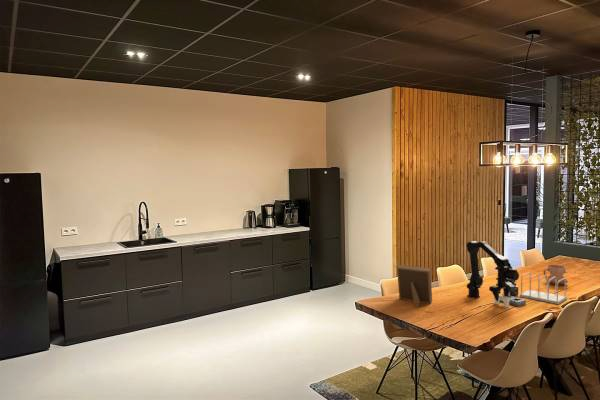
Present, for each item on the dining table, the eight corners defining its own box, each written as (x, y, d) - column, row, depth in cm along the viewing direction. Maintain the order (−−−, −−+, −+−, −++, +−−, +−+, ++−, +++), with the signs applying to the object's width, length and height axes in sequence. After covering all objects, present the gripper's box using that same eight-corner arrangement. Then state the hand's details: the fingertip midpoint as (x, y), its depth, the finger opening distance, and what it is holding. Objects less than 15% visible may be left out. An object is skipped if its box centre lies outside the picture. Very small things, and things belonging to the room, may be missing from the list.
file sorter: (566, 299, 309) (567, 277, 307) (558, 304, 297) (559, 282, 296) (528, 291, 327) (529, 271, 326) (519, 296, 315) (520, 275, 314)
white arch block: (493, 303, 301) (493, 294, 300) (496, 302, 302) (496, 293, 302) (506, 307, 292) (507, 298, 292) (509, 307, 293) (509, 297, 293)
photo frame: (401, 297, 316) (401, 263, 314) (432, 302, 305) (432, 266, 303) (394, 303, 304) (394, 267, 301) (426, 308, 293) (426, 271, 290)
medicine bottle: (509, 297, 314) (510, 280, 313) (502, 294, 321) (503, 278, 320) (518, 296, 316) (518, 279, 315) (511, 293, 323) (511, 277, 322)
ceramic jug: (571, 284, 345) (572, 266, 344) (564, 287, 335) (565, 269, 334) (547, 280, 358) (547, 262, 357) (539, 283, 349) (540, 265, 348)
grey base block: (498, 300, 307) (498, 296, 307) (505, 298, 311) (505, 294, 311) (518, 306, 294) (518, 302, 294) (525, 304, 298) (526, 300, 298)
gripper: (504, 281, 284) (503, 305, 285) (522, 277, 293) (521, 300, 294) (489, 277, 294) (488, 301, 295) (507, 274, 303) (506, 296, 304)
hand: (501, 299), depth 297 cm, fingers open, 9 cm apart
